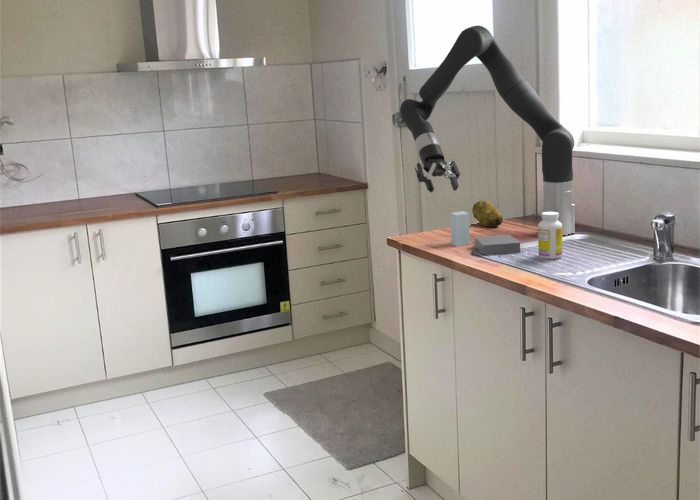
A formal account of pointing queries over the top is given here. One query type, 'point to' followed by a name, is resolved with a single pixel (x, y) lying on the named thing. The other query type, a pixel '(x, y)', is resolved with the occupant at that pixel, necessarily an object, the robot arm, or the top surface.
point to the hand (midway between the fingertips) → (444, 190)
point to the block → (460, 228)
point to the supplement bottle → (550, 236)
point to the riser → (497, 244)
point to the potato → (487, 214)
